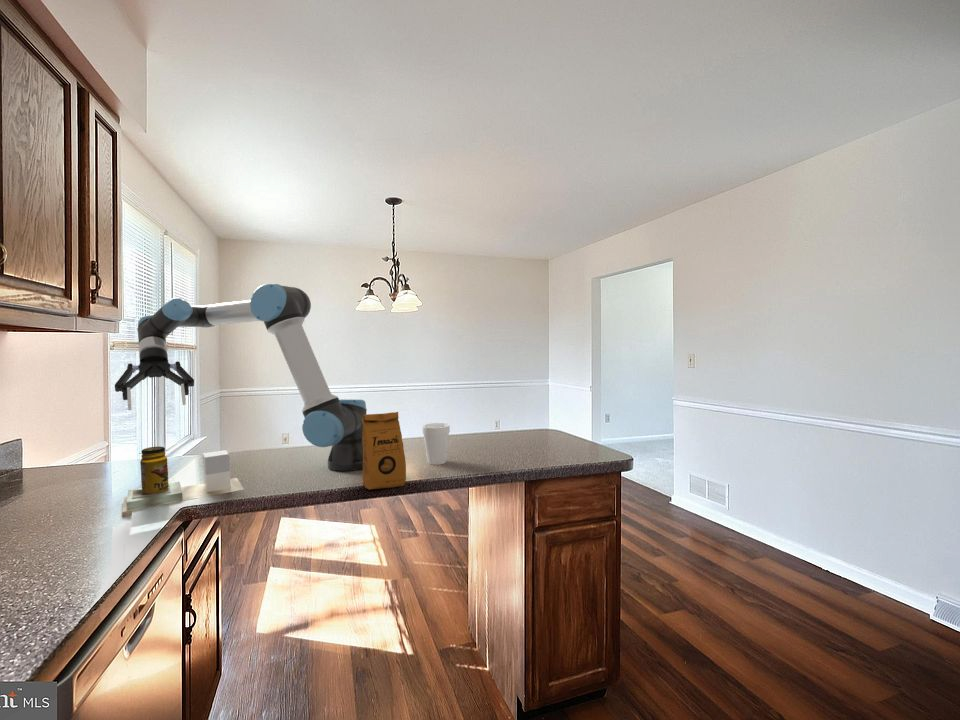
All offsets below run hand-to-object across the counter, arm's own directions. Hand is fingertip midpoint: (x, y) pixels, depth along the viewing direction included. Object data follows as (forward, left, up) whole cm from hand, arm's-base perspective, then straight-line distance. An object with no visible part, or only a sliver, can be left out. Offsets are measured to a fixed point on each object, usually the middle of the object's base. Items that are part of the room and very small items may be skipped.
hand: (157, 404), depth 142 cm
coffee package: (-68, -8, -25) cm, 73 cm away
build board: (-15, +8, -25) cm, 30 cm away
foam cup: (-77, -35, -25) cm, 88 cm away
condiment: (-10, +14, -22) cm, 28 cm away
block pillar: (-21, +2, -24) cm, 32 cm away
